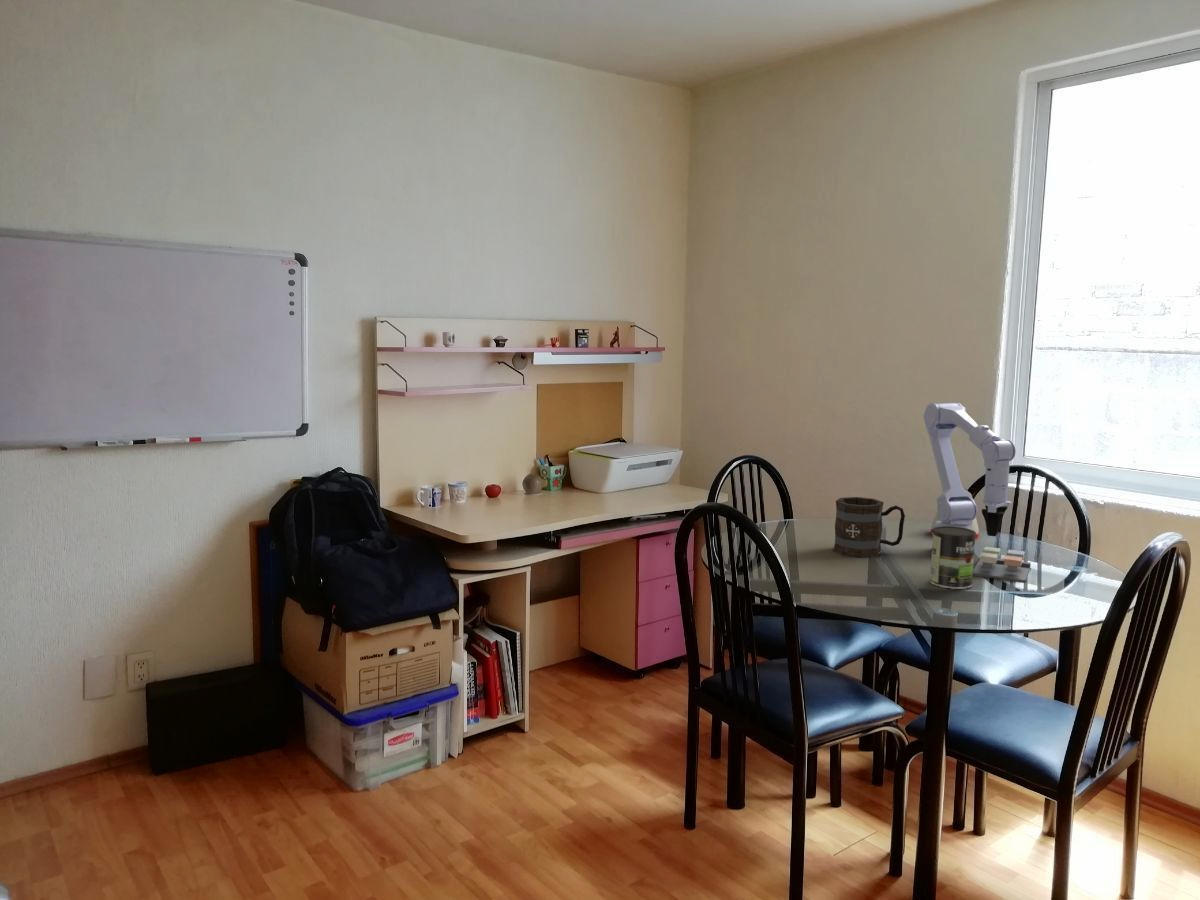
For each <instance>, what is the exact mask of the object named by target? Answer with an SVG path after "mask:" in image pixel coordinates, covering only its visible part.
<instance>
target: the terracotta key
mask: <svg viewBox="0 0 1200 900" xmlns="http://www.w3.org/2000/svg"><path fill="white" fill-rule="evenodd" d="M1003 559H1004V565H1007V570H1008V571H1016V572H1017V571H1018V567H1021V565H1022V562H1023V561H1022V557H1015V556H1007V554H1006V555H1005V557H1004V558H1003Z"/></svg>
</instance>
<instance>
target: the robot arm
mask: <svg viewBox="0 0 1200 900" xmlns="http://www.w3.org/2000/svg"><path fill="white" fill-rule="evenodd" d="M922 416H923V420H924V424H925V427H926V431H927V434H928V437H929V441H930V445H931V449H932V452H933V457H934V461H935V463H936V464H935V465H936V468H937V472H938V478H939V480H940V485H941V488H942V492H941V493H940V494H939V496H938V497H937V498H936V503H937V509H936V510H937V511H936V513H938V516H939V518H940V520H941V521H936V524H935V527H941V526H952V527H961V528H967V529H970V524H971V523H972V520H974V519H975V518H976V519H977V516H978V505H977V504H976V502H975V500H974V499H973V496H972V493H971V492H969V491H968V490H967V489H966V488H963V485H962V481H961V478H960V474H959V473H960V472H959V470H958V466H957V463H956V458H955V454H954V451H953V447H952V442H951V439H950V438H951V435H952V434H954V433H955V432H956V431H957V429H958V428H959V429H961V430H962V431H963V432H965V434H968V435H969V436H968V438H969V439H968V440H969V441H970V442H971V443H972V444H973V445H974V446H975V447H976V448H977V449H978V450H979V451H981V454H982V458H983V459H984V463H983V464H984V467H985V479H984V481H985V482H984V492H983V493H984V494H983V495H984V497H983V500H982V503H983V504H984V507H985V508H982V509H981V515H982V516H983V518H984V522H985V528H986V529H985V530H986V535H987V536H988V537H996V536H997V534H998V533H999V531H1000V528H1001V525H1002V522H1003V517H1004V515H1005V513H1006V511H1007V510H1008V508H1009V506H1012V501H1010V500H1008V493H1009V490H1008V487H1009V476H1010V462H1011V461H1012V460H1014V458H1015V456H1016V447H1015V444H1014V443H1013V442H1012V440H1011V439H1003V438H1002V439H1001V438H1000V436H999V435H997V434H996V433H995V432H994V431H992V430H991V429H990V427H989V426H988V425H984V424H981V425H980V424H978V423H977V422H976V421H975V420H974V419H973V418H972V417H971V416H970V415H969V414H968V413H967V410H966V407H965V406H963V405H962V404H961V403H960V402H951V403H949V402H948V403H944V402H943V403H933V402H932V403H929V404H927V405H926V408H925V411H924V413H923V415H922ZM965 489H966V490H967V491H966V490H965Z"/></svg>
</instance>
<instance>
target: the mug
mask: <svg viewBox="0 0 1200 900" xmlns="http://www.w3.org/2000/svg"><path fill="white" fill-rule="evenodd" d="M835 505H836V506H835V507H836V510H835V511H836V513H835V521H834V533H835V534H834V547H833V552H835V553H837V554H838V555H841V556H842V557H843V556H844V557H850V558H856V559H857V558H859V559H865V558H867V557H868V558H872V557H871V556H877V555H878V554H879V552H880V551H881V552H882V548H881V544H883V545H888V546H891V547H894V546H898V545H900V542H901V541H902V539H903V535H904V533H903V532H904V523H905V517H906V515H905V511H904V509H903V507H900V506H898V505H894V506H890V507H889V508H888V509H886V510H885V511H883V509H884V501H881V500H878V499H877V498H870V497H863V496H862V497H861V496H852V497H851V496H849V497H848V496H847V497H846V496H845V497H840V498H839V497H838V499H837V500H835ZM896 510H898V511H900V519H899V523H898V524H899V525H898V536H897V537H896V538H897V539H896V540H895V541H890V540H887V539H882V532H883V517H885V516H888V515H890V514H891V513H892V512H893V511H896ZM879 555H880V554H879ZM879 555H878V556H879ZM878 556H877V557H878ZM868 558H867V559H868Z"/></svg>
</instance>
